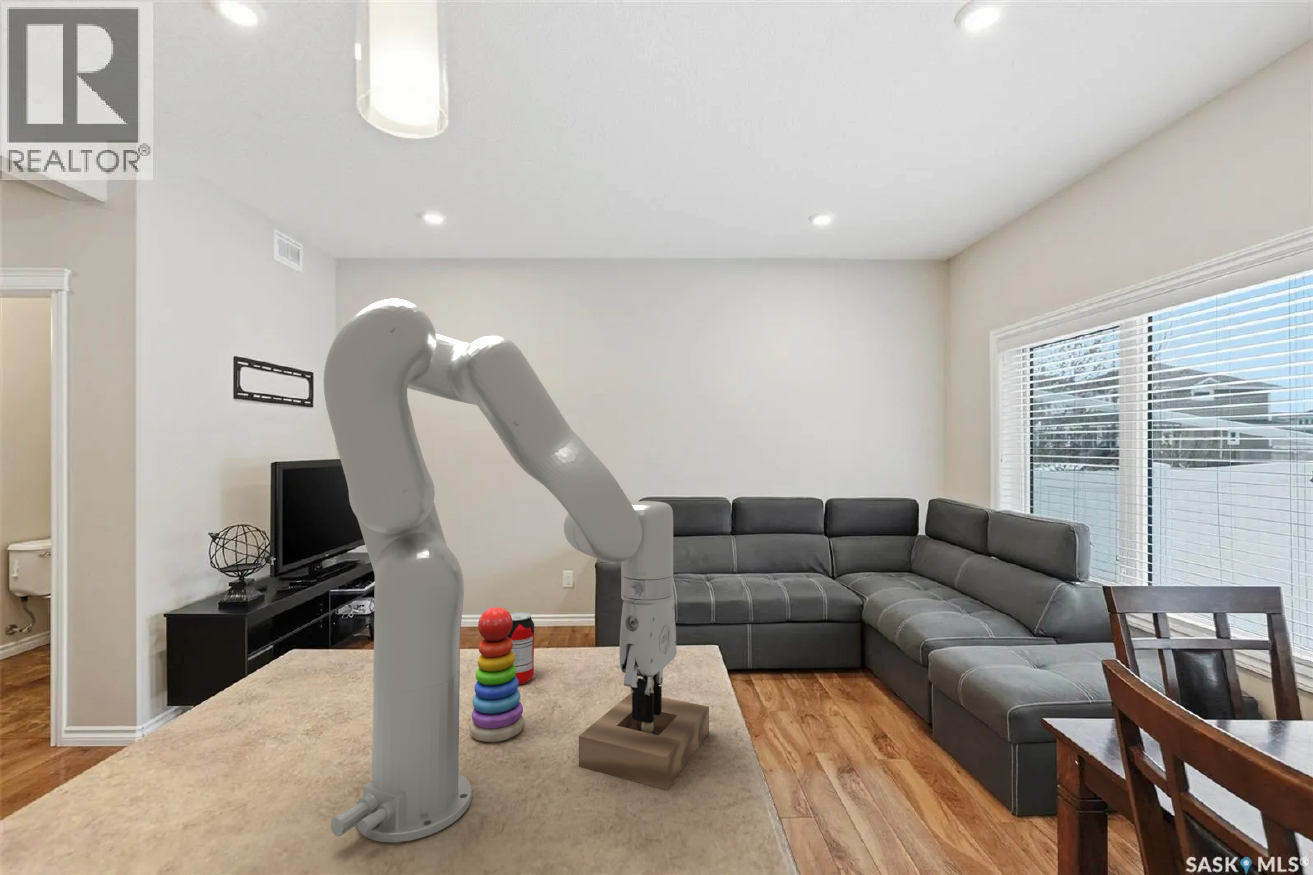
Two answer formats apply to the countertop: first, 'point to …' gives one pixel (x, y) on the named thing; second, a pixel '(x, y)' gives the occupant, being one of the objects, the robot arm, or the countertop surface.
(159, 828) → the countertop surface
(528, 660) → the beverage can
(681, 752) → the brown flat frame block
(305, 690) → the countertop surface
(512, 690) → the stacking toy
